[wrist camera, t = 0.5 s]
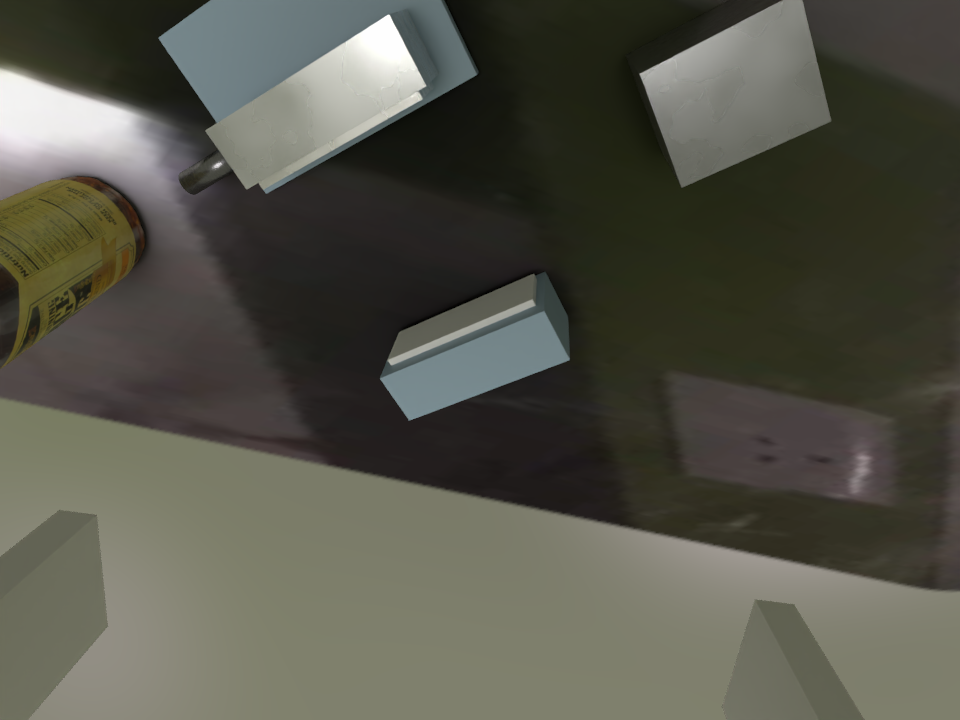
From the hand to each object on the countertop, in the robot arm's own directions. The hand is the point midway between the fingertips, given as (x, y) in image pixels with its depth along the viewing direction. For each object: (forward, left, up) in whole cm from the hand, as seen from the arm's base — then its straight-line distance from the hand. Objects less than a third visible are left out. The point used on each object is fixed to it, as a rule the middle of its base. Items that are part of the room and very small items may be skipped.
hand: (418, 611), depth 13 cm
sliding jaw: (+6, -9, -24) cm, 26 cm away
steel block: (-11, -1, -25) cm, 28 cm away
